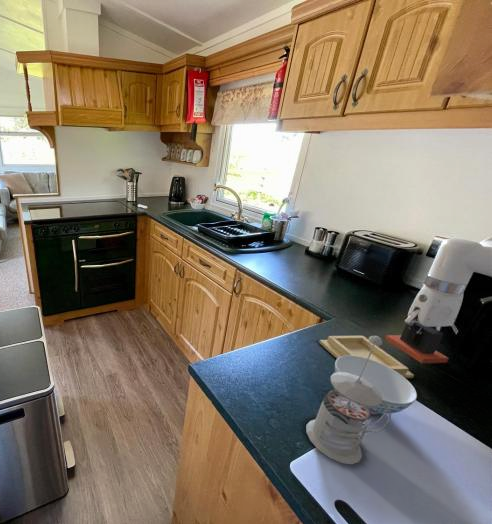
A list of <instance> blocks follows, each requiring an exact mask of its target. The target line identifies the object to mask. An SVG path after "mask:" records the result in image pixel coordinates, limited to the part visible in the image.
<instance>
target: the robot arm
mask: <svg viewBox="0 0 492 524" xmlns="http://www.w3.org/2000/svg"><path fill="white" fill-rule="evenodd" d="M474 273H477V274H481V275H485V276H487V277H491V278H492V235H490V236H489V237H486V238H485V239H483V240H481V241H480V242H477V241H473V240H470V239H469V240H468V239H464V238H463V239H462V238H452V237H451V238H446V239H444V240H443V241H442V242H441V244H440V246H439V248H438V249H437V253H436V255H435V256H434V260H433V262H432V264H431V266H430V269H429V271H428V273H427V275H426V278H425V280H424V283H423V285H422V287H421V289H420V290H419V291H418V293H417V294H416V296H415V298H414V299H413V302H412V303H411V305H410V308H409V310H408V313H407V317H406V319H404V324H405V325H406V324H407V325H408V326H409V329H410V330H409V332H408V334H407V337H406V339H405V340H406V341H407V342H409V343H410V344H412V345H414V346H418V345H419V343H420V340H421V338H422V336H423V334H421V333H422V332H423V330H424V329H425V327H432V328H434V329H435V330H437V331H439V332H441V330H442V329H443V328H444V327H451V326H453V325H454V323H455V322H456V320H457V317H458V314H459V312H460V310H461V306H462V303H463V299H464V292H465V290H466V288H467V286H468V284H469V282H470V279H472V277H473V274H474ZM416 324H419V325H420V327H418V325H416Z"/></svg>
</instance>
